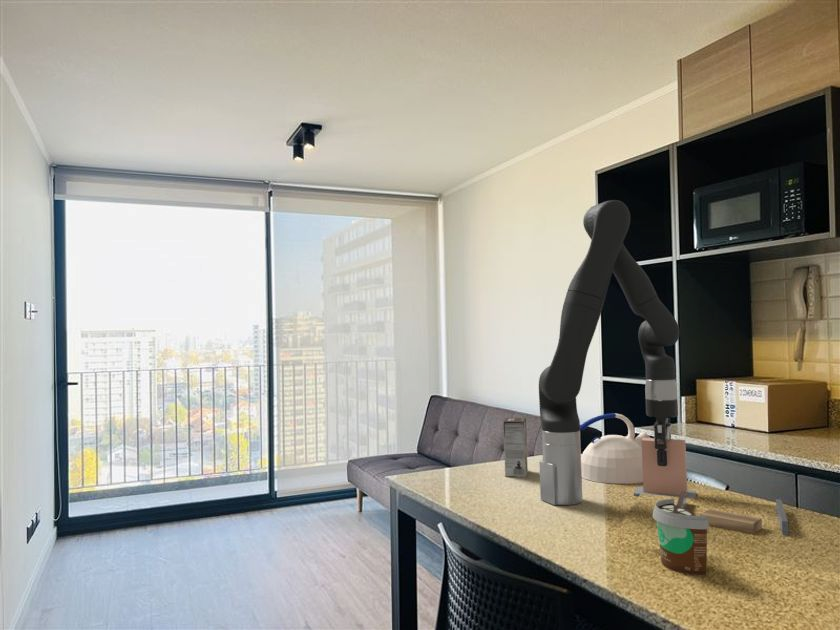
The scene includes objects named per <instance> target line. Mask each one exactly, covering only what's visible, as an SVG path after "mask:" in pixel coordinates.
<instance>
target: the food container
mask: <svg viewBox="0 0 840 630" xmlns="http://www.w3.org/2000/svg"><path fill="white" fill-rule="evenodd" d="M652 518H653V519H654V520H655V521H656V524H657V525H656V526H657V534H658V541H659V551H660V560H661V564H662V566H663V567H665V568H667V569H668V570H671V571H674V572H677V573H680V574H686V575H695V576H707V569H708V567H707V565H708V562H707V561H708V560H707V558H708V557H707V555H708V530H710V526H709V524H708V520H707V516H700V515H696V514H695V513H694V512H692V511H691V510H690V509H688V508H685V509H684V508H680V507H678V506H677V504H675V498H667V499H662V500H659V501H657V502H655V506H654V507H653V511H652Z"/></svg>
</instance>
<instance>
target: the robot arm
mask: <svg viewBox="0 0 840 630" xmlns="http://www.w3.org/2000/svg"><path fill="white" fill-rule="evenodd" d="M582 223H583V228H584V230H585V232H586V234H587V235H588V237H589V238H590V244H589V247H588V250H587V253H586V255H585V257H584V259H583V261H582V262H581V264H580V265H579V267H578V269H577V270H576V272H575V274H574V275H573V276H572V277H573V278H572V279H571V281H570V284H569V285H568V288H567V291H566V294H565V297H564V301H563V305H562V309H561V315H560V324H559V336H558V337H559V338H558V343H557V346H556V350H555V352H554V355H553V358H552V360H551V363H550V365H549V366H547V367H545V369H543V370H542V371H541V373H540V375H539V379H538V399H539V402H538V403H539V417H540V422H541V442H542V443H541V446H542V449H541V450H542V460H540V461H539V464H538V465H539V486H540V488H539V489H540V490H539V491H540V494H539V496H540V500H541V501H544V502H546V503H549V504H551V505H552V506H553V505H554V506H555V505H557V506H558V505H561V506H562V505H563V506H568V505H569V506H571V505H578V504H580V503H582V502H583V481H582V479H583V478H582V474H581V456H582V451H581V449H582V448H581V430H580V426H581V423H580V418H579V414H578V407H577V397H578V395H579V394H580V391H581V387H582V384H583V377H584V371H585V365H586V359H587V355H588V351H589V349H590V346H591V343H592V340H593V338H594V335H595V333H596V329H597V326H598V323H599V320H600V317H601V316H602V315H601V314H602V311H603V307H604V304H605V300H606V297H607V293H608V289H609V285H610V283H611V279H612V275H614V277H615V278H616V280H617V282H618V284H619V286H620V288H621V290H622V292H623V294H624V296H625V298H626V300H627V303H628V305H629V308H630V309H631V310H632V312H633V313H634V314H635V315H636V316H640V317H642V318H643V319H644V321H643V322H641V324H640V326H639V329H638V334H637V335H638V337H637V338H638V342H639V347H640V351H641V355H642V358H643V360H644V365H645V386H644V387H645V388H644V390H645V391H644V392H645V414H646V416H648V417H650V418H655V419H656V420H655V422H654V423H653V425H652V427H653V438H654V440H655V449H656V450H657V464H658V466H667V443H668V442H669V439H672V427H673V426H672V423H671V419H670V418H677V417H678V415H679V409H678V408H679V407H678V388H677V382H676V381H677V380H676V364H675V363H676V362H675V360H674V358H673V357H671V356H669V355H667V354H666V350H665V348H664V347H671V346H673V345H675V344H676V343H677V342H678V340H679V338H680V327H679V324H678V322H677V320H676V318H675V317H674V316H673V314H672V313H671V312H670V310H668V308H667V307H666V305H664V303H663V302H662V301H661V299H659V296H658V294H657V292H656V290H655V288H654V285H653V284H652V282H651V280H650V277H649V276H648V275H647V274H648V273H646V271H644V269H643V268H642V267H641V266H640V264H639V263H638V262H637V261H636V260H635V259H634V257H633V256H632V255H631V254H630V252H629V250H628V249H627V248H626V246H625V244H624V240H625V239H626V235H627V234H628V230H629V228H630V225H631V213H630V210H629V208H628V206H627V205H626V204H625V203H624V202H623V201H621V200H618V199H617V200H616V199H610V200H606V201H603V202H601V203H597V204H595V205H593V206H591V207H590V208H588V209H587V210H586V212H585V214H584V215H583V222H582ZM659 442H664V444H659Z"/></svg>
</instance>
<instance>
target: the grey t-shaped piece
mask: <svg viewBox="0 0 840 630" xmlns="http://www.w3.org/2000/svg"><path fill="white" fill-rule="evenodd" d="M641 495H652V496H664V497H675V498H677V497H678V498H679V496H680V495H672V494H659V493H647V492H643V486H642V485H641V486H637V487H636V488H635V491H634V492H633V496H635V497H640V496H641ZM696 497H697V490H692V489H691V490H690V489H689V490H688V489H687V496H686V499H688V498H689V499H696Z"/></svg>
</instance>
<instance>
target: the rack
mask: <svg viewBox="0 0 840 630" xmlns="http://www.w3.org/2000/svg"><path fill="white" fill-rule="evenodd" d="M676 505H677V506H678V507H680V508H684V509H686V505H687V498H686V492H682V491H681V493H680V496H679V497H678V500H677V503H676ZM775 511H776V515H777V519H778V523H779V527H780V530H781V534H782V536H787V537H788V536H790V535H789V521H788V517H787V514H786V512H785V511H786V510H785V507H784V504H783V501H782V499H780V498H778V499H777V498H775Z"/></svg>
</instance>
